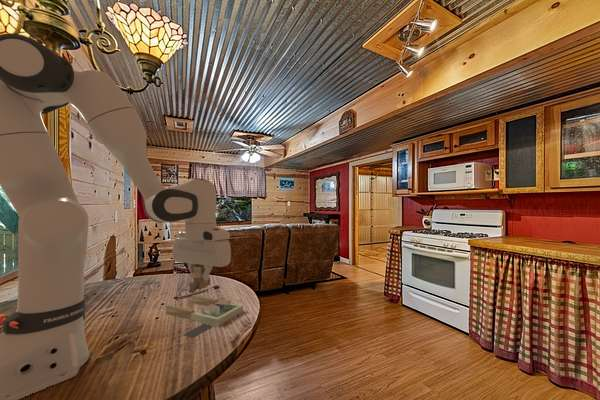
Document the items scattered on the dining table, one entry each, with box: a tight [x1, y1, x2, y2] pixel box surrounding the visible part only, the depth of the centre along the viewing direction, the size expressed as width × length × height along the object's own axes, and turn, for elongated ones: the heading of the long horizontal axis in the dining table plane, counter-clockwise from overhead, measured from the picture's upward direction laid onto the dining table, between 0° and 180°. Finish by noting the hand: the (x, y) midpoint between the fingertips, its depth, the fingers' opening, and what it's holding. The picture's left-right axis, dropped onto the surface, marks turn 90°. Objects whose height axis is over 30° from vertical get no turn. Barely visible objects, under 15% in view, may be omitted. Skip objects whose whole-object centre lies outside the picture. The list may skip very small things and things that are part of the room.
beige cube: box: [214, 299, 231, 316], centre depth 90 cm, size 4×4×4 cm
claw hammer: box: [173, 284, 220, 302], centre depth 111 cm, size 21×7×1 cm, turn 142°
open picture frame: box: [190, 302, 244, 327], centre depth 87 cm, size 13×11×2 cm
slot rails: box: [165, 294, 219, 320], centre depth 92 cm, size 12×12×3 cm
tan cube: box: [201, 304, 221, 317], centre depth 85 cm, size 4×4×4 cm
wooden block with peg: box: [189, 264, 211, 292], centre depth 77 cm, size 7×3×6 cm, turn 156°
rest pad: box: [183, 323, 214, 339], centre depth 76 cm, size 8×4×1 cm, turn 156°
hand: (199, 278), depth 77 cm, fingers closed on wooden block with peg, 3 cm apart
